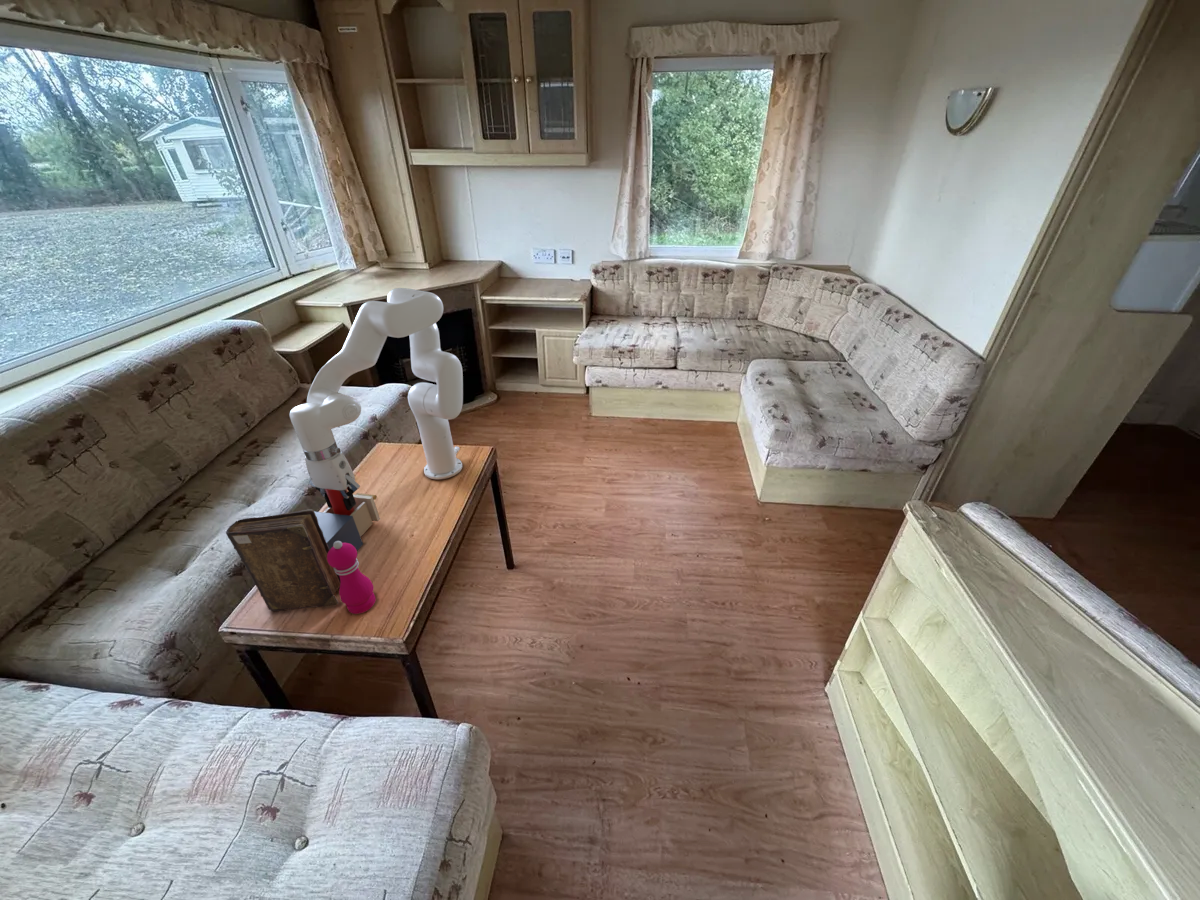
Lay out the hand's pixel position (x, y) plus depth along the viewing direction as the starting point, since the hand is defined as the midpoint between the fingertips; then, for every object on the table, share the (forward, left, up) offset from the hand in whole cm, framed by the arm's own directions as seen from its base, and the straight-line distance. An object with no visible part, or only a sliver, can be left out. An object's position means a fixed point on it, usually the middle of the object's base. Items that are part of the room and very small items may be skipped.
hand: (342, 505), depth 132 cm
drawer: (-1, 0, -9) cm, 9 cm away
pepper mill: (+22, +18, -10) cm, 31 cm away
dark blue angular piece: (+11, 0, -10) cm, 15 cm away
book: (+23, +4, -10) cm, 26 cm away
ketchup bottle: (0, 0, -8) cm, 8 cm away
